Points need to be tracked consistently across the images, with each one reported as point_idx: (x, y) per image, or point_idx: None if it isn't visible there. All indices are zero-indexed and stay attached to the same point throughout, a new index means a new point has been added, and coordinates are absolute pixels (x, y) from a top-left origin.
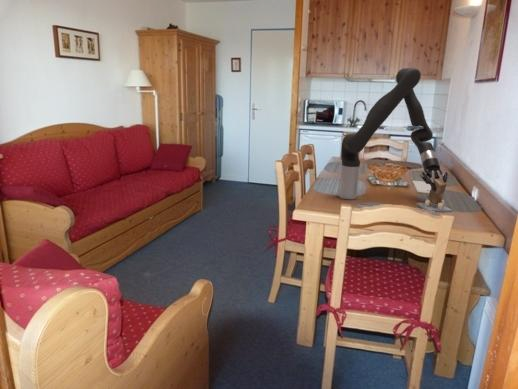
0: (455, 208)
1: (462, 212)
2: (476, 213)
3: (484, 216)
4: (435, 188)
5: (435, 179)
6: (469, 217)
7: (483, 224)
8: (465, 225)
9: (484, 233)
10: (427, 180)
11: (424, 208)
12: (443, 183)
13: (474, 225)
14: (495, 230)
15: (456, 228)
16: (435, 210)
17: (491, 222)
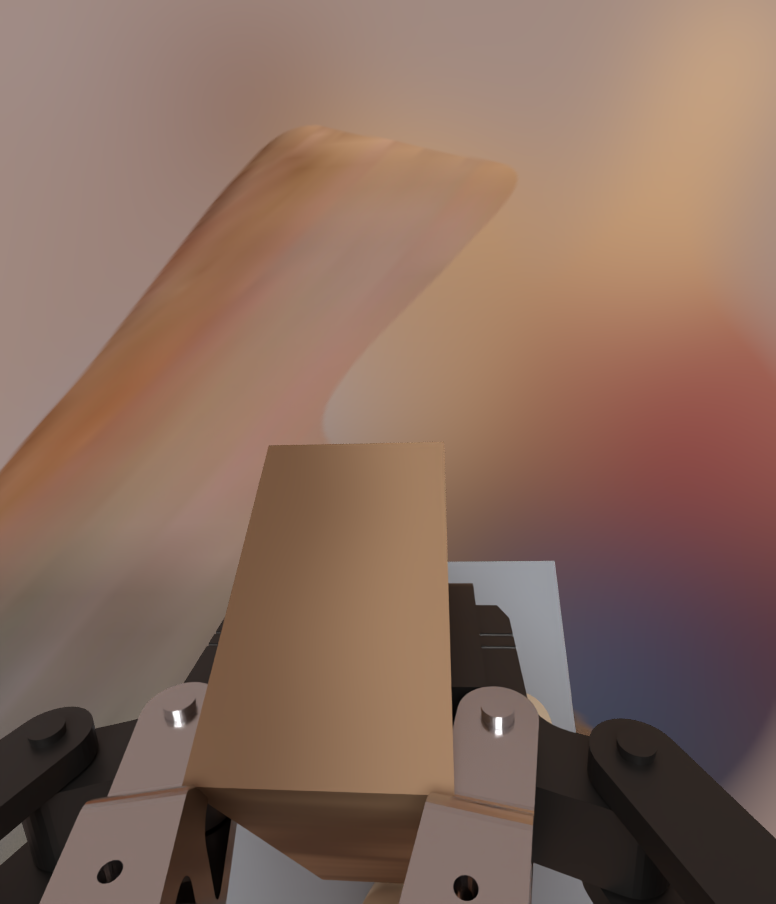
0: (105, 721)
1: (154, 556)
2: (32, 525)
3: (44, 439)
4: (469, 587)
5: (408, 736)
6: (214, 408)
7: (239, 267)
8: (399, 242)
9: (370, 140)
10: (696, 785)
11: (565, 675)
12: (308, 491)
13: (327, 246)
14: (254, 182)
15: (508, 191)
16: (467, 564)
17: (134, 307)
